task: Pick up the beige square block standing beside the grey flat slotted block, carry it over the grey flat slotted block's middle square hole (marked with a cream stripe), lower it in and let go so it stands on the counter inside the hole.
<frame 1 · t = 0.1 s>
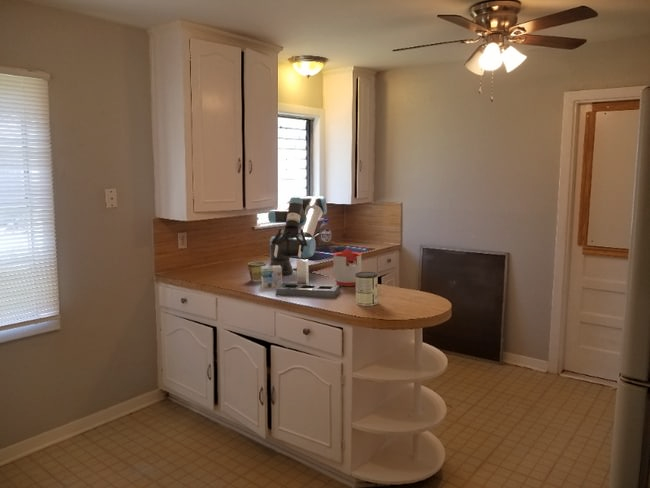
hand: (287, 256, 298), 15 cm above the worktop, tool tilted 35°, fingers open, 13 cm apart
light bulb box: (271, 286, 297), on the worktop
ceramic cup: (258, 280, 313), on the worktop
coffee can: (366, 303, 257), on the worktop
beige square block: (303, 288, 291), on the worktop
grey flat slotted block: (308, 293, 278), on the worktop
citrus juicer: (348, 285, 297), on the worktop
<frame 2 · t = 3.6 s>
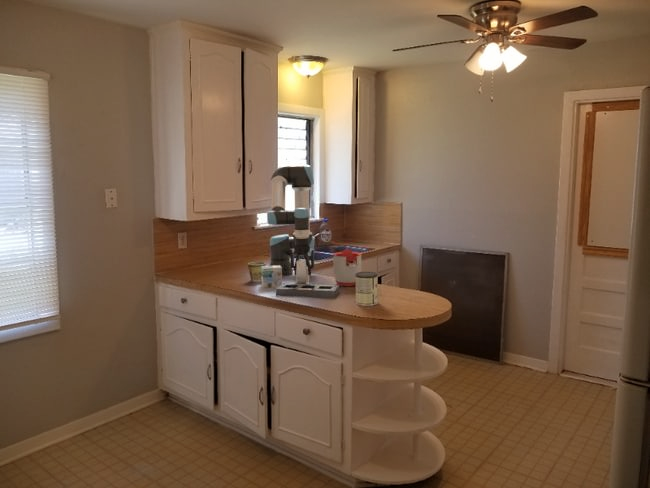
hand: (302, 281, 290), 4 cm above the worktop, tool pointing down, fingers closed on beige square block, 5 cm apart
beige square block: (302, 288, 291), on the worktop, touching gripper
everything else where it was.
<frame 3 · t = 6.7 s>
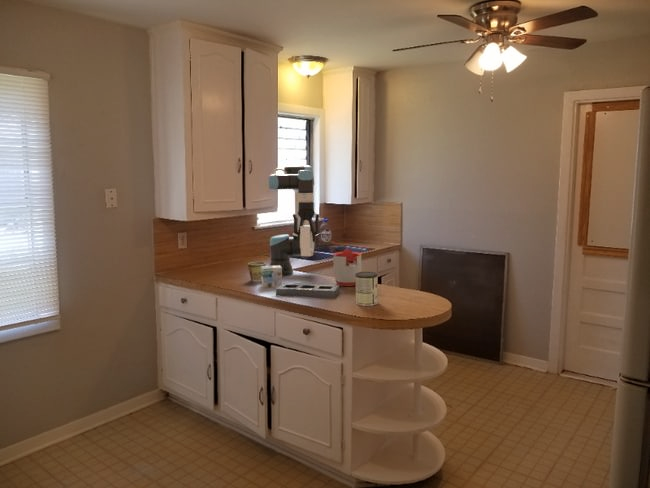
hand: (306, 248, 275), 23 cm above the worktop, tool pointing down, fingers closed on beige square block, 5 cm apart
beige square block: (307, 255, 275), point 20 cm above the worktop, touching gripper
everything else where it was.
when the fingers open (6 cm above the worktop, at t = 9.8 s): beige square block drops 2 cm, resting in grey flat slotted block.
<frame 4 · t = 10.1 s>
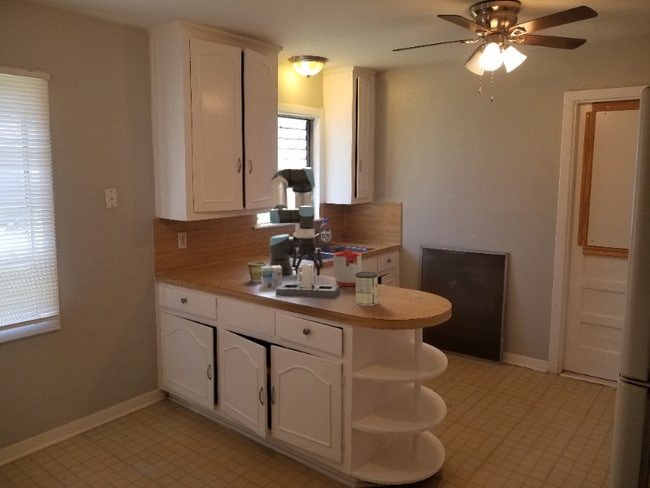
hand: (307, 281, 277), 6 cm above the worktop, tool pointing down, fingers open, 8 cm apart
beige square block: (308, 293, 278), resting in grey flat slotted block
everything else where it was.
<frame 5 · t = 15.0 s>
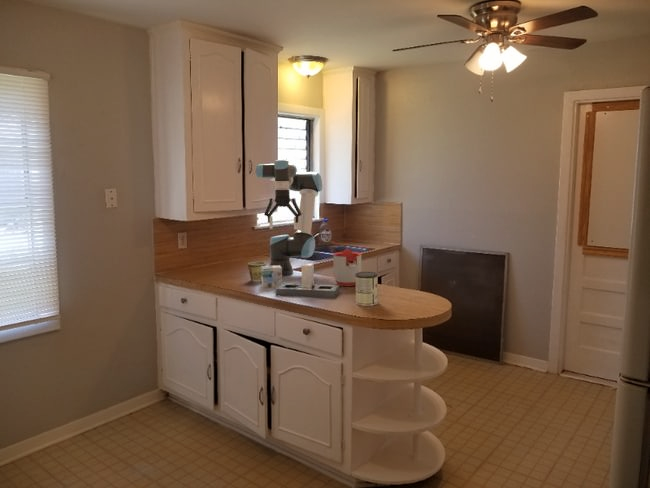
hand: (283, 228, 295), 31 cm above the worktop, tool pointing down, fingers open, 13 cm apart
nothing on the worktop moved.
at the end: beige square block 0.0 cm off-centre on the grey flat slotted block, point 0.0 cm above the grey flat slotted block's base; beige square block tilted 0°; the gripper is holding nothing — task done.
